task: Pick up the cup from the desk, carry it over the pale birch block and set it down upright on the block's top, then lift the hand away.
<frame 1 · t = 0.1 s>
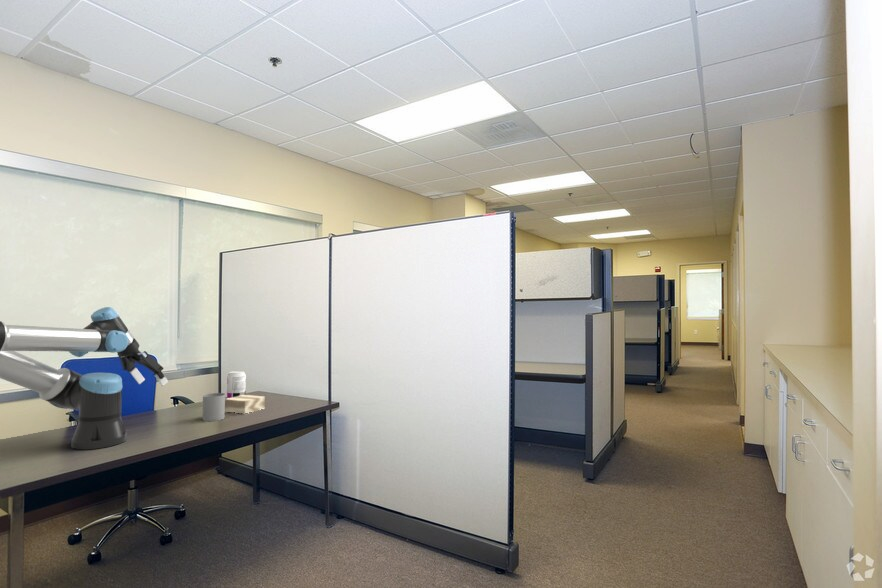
hand: (153, 382, 187), 15 cm above the table, tool tilted 35°, fingers open, 13 cm apart
birch block: (244, 411, 205), on the table
supplement can: (236, 403, 221), on the table
cup: (213, 419, 189), on the table
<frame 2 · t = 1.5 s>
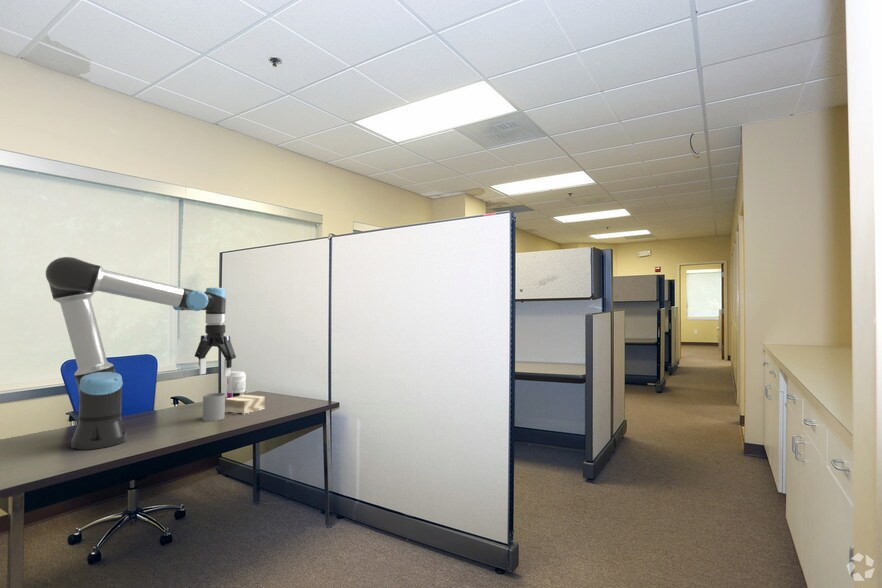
hand: (214, 374, 190), 18 cm above the table, tool pointing down, fingers open, 13 cm apart
nothing on the table moved.
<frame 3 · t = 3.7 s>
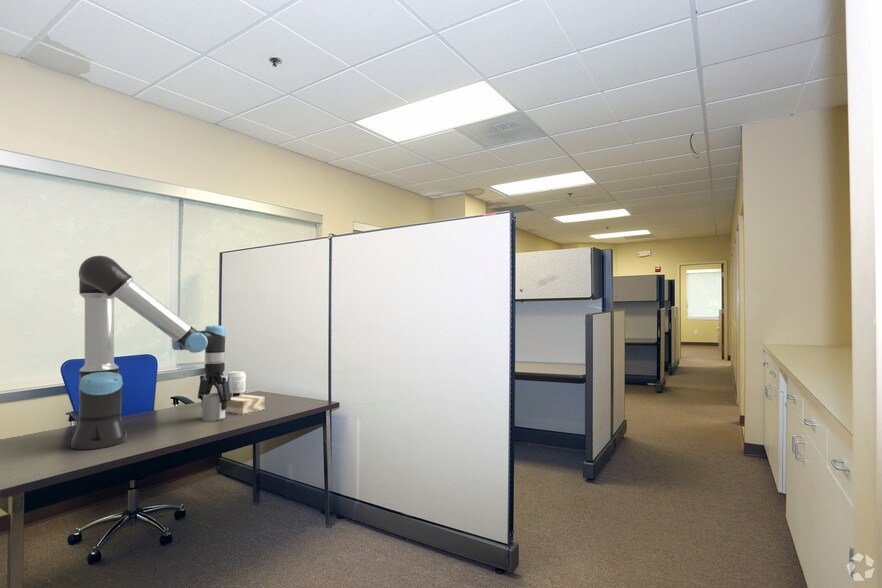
hand: (213, 416, 189), 1 cm above the table, tool pointing down, fingers closed on cup, 8 cm apart
cup: (213, 419, 189), on the table, touching gripper
everything else where it was.
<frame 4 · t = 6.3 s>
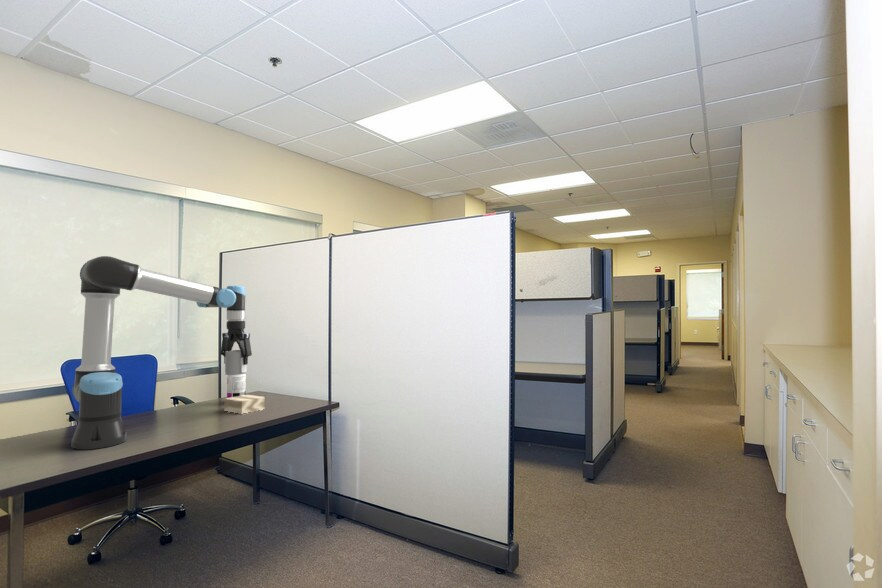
hand: (235, 371, 200), 18 cm above the table, tool pointing down, fingers closed on cup, 8 cm apart
cup: (235, 374, 200), point 17 cm above the table, touching gripper
everything else where it was.
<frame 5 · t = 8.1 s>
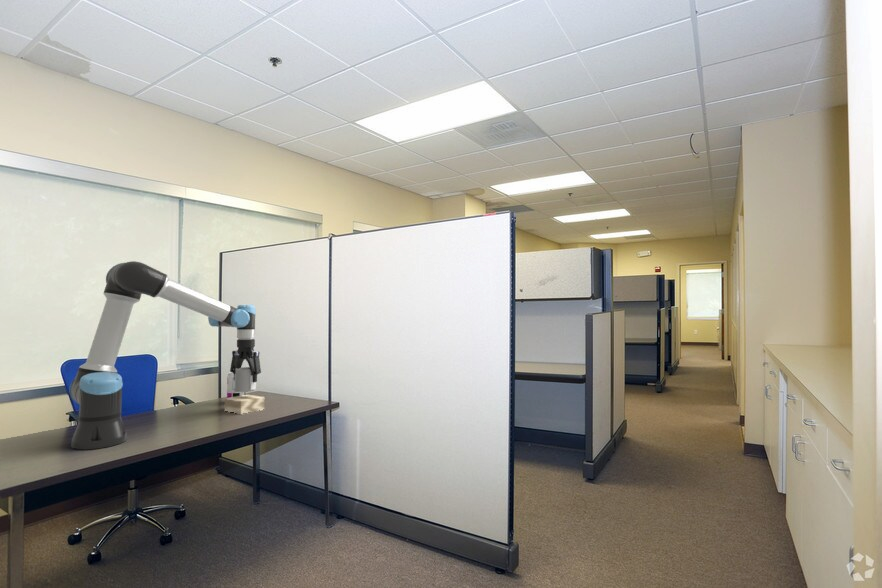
hand: (245, 388, 206), 10 cm above the table, tool pointing down, fingers closed on cup, 8 cm apart
cup: (245, 390, 206), point 9 cm above the table, touching gripper
everything else where it was.
when the fingers open (8 cm above the table, at t = 9.3 s): cup drops 2 cm, point 6 cm above the table.
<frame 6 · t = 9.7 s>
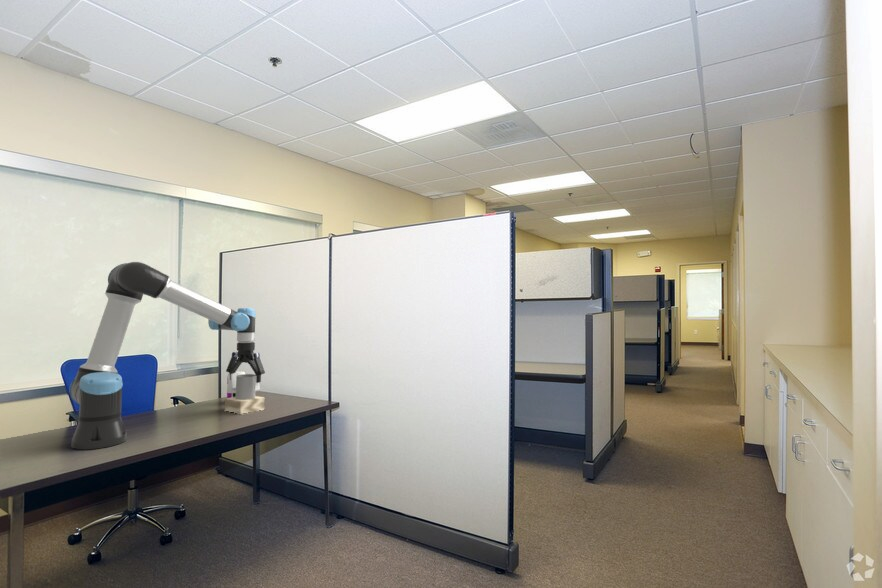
hand: (245, 388, 206), 10 cm above the table, tool pointing down, fingers open, 13 cm apart
cup: (245, 398, 205), point 6 cm above the table
everything else where it was.
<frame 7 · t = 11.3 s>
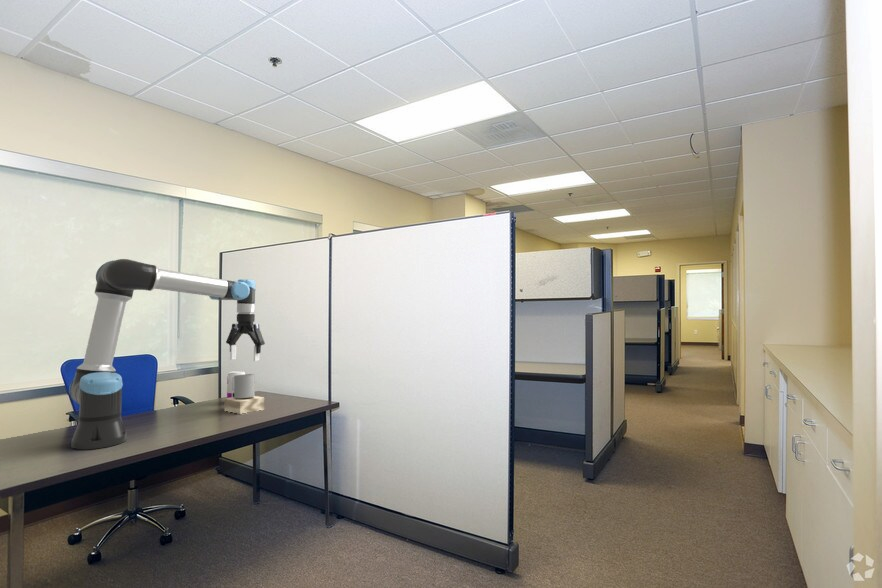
hand: (244, 360, 206), 23 cm above the table, tool pointing down, fingers open, 13 cm apart
birch block: (244, 411, 205), on the table, touching cup
cup: (244, 397, 205), point 6 cm above the table, touching birch block
everything else where it was.
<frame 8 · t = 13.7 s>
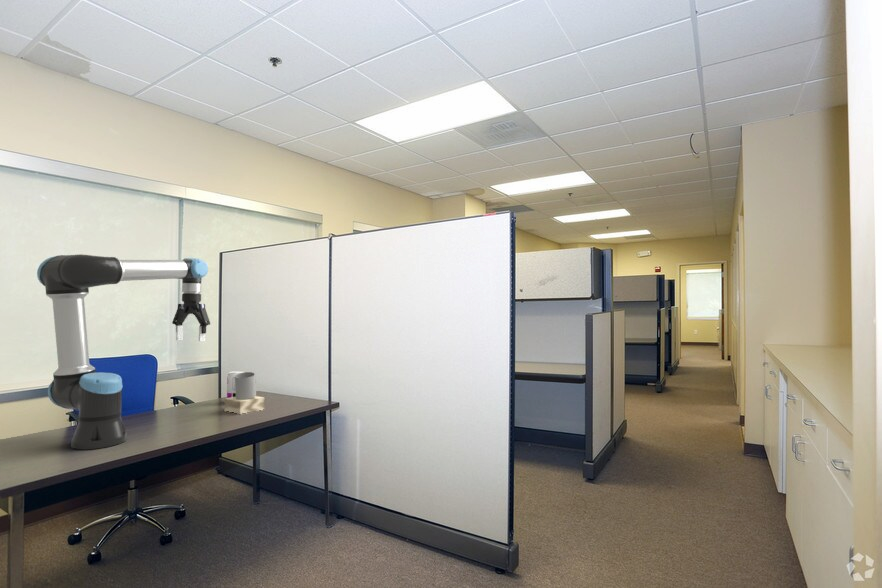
hand: (190, 340, 202), 32 cm above the table, tool pointing down, fingers open, 13 cm apart
at the end: cup inside the target area on the birch block (0.4 cm from its centre), point 6.5 cm above the birch block's base; cup tilted 9°; the gripper is holding nothing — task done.
